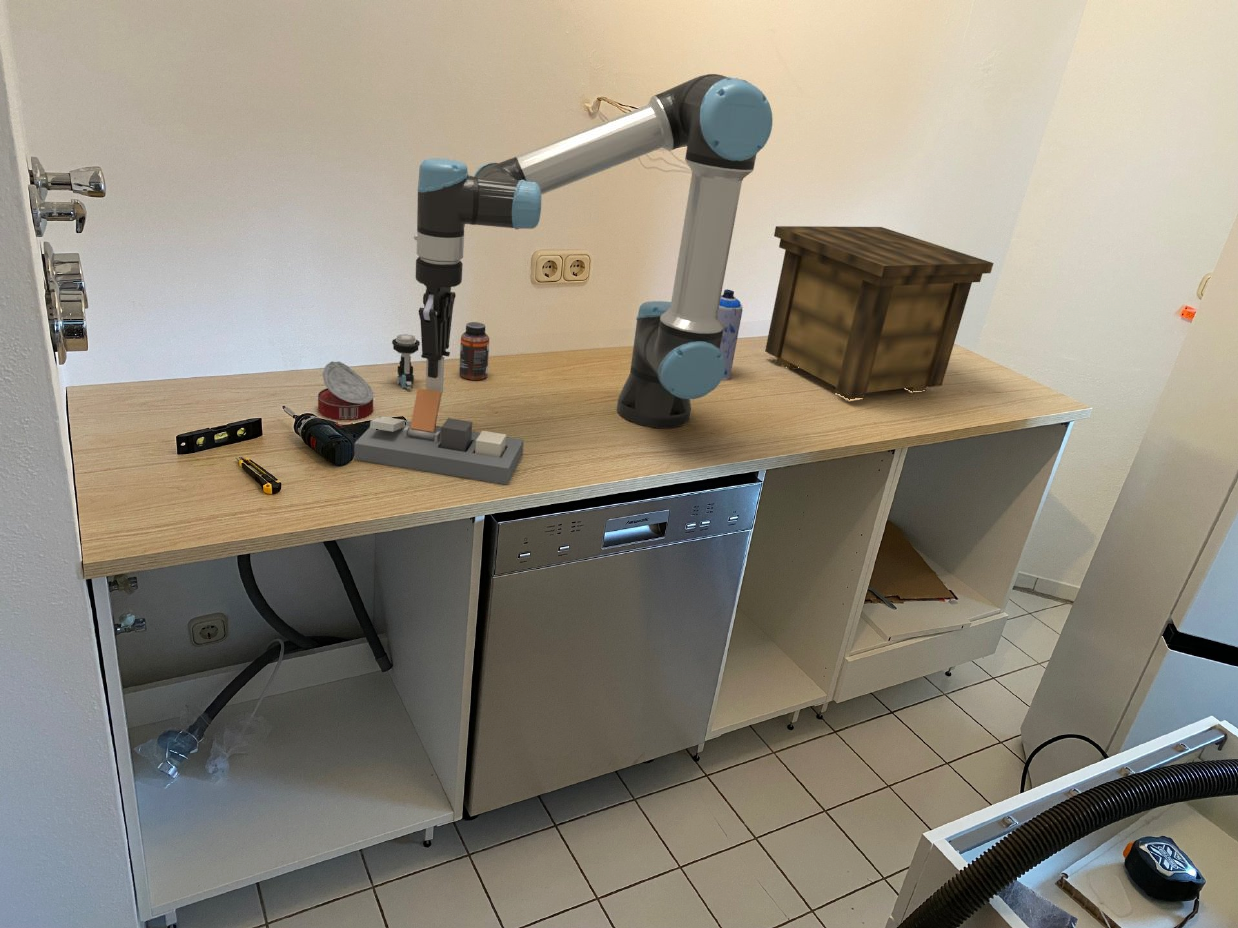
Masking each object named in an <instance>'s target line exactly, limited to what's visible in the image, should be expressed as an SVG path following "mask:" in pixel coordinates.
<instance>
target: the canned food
mask: <svg viewBox="0 0 1238 928" xmlns="http://www.w3.org/2000/svg"><path fill="white" fill-rule="evenodd" d="M322 378H323V379H322V380H323V384H324V385H325V386H326V388H324V389H322V390H321V391H319V392H318V394H317V409H318V413H319V415H321V416H323V417H324V418H326V419H330V420H334V421H335V420H336V421H342V420H349V421H358V419H359V420H363V419H365V418H368V417H370V416H371V415H372V414H373V413H374V391H373V390H372V387H371V385H369V384H368V383H367V381H365V379H364V378H363V377H362V376H360V375H359V374H358V373H357V372H356V371H355V370H353V369H352V368H350V367H349V366H348V365H347V364H345V363H343V362H341V361H333V360H332V361H330V362H329V363H327V364H326V365H325V367H324V369H323V371H322ZM369 415H370V416H369ZM367 416H368V417H367ZM362 418H363V419H362ZM349 421H348V422H349Z"/></svg>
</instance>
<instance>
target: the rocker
mask: <svg viewBox="0 0 1238 928" xmlns="http://www.w3.org/2000/svg"><path fill="white" fill-rule="evenodd" d="M379 417H380V418H379ZM379 417H378V418H375V419H372V420H370V424H369V428H374V429H380V430H386V431H392V432H394V431H396V430H398V429H401V428H403V427H404V426H405V421H406V420H405V419H400V418H393V417H388V416H379Z"/></svg>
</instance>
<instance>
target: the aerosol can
mask: <svg viewBox="0 0 1238 928" xmlns="http://www.w3.org/2000/svg"><path fill="white" fill-rule="evenodd" d="M734 292H735V291H733V290H731V289H727V288H726V289H724V291H723V293H722V294H721V298H720V304H719V309H718V315H717V316H718V318H719V319H720V321H721V322H722V323H723V325H724V329H723V334H722V340H721V345H720V351H721V352H722V354H723V356H724V360H725V373H724V376H723V378H722V380H721V382H722V381H728V380H730V379H731V378H732V369H733V364H734V357H735V352H736V347H737V343H738V342H737V341H738V336H739V331H740V328H741V327H740V326H741V321H742V320H741V319H742V315H743V304H741V301H740V300H739V299H738V298H736V296H734V294H735V293H734Z"/></svg>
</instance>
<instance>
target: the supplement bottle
mask: <svg viewBox="0 0 1238 928" xmlns="http://www.w3.org/2000/svg"><path fill="white" fill-rule="evenodd" d="M459 346H460V347H459V349H460V350H459V368H458V371H459V373H458V374H459V375H460V377H462V378H463V379H465V380H471V381H478V380H479V381H480V380H483V379H486V378H487V376H488V373H489V354H490V337H489V335H488V334H487V333H486V324H484V323H482V322H479V321H472V322H467V323H466V325H465V331H464V332H463V333H462V334H461V337H460V345H459Z"/></svg>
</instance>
